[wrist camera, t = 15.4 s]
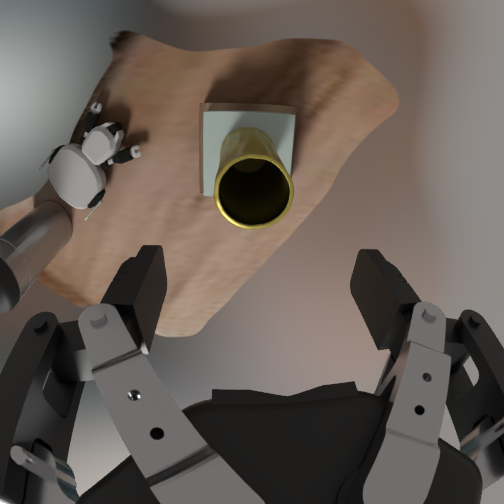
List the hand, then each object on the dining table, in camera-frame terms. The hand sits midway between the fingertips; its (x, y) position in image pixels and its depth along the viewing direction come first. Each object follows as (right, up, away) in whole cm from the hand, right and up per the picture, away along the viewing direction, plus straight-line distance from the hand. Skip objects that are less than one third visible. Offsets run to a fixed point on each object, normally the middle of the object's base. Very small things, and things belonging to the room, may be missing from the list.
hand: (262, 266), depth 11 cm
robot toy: (-25, +15, +25) cm, 38 cm away
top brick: (-1, +13, +22) cm, 26 cm away
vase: (-1, +12, +19) cm, 22 cm away
